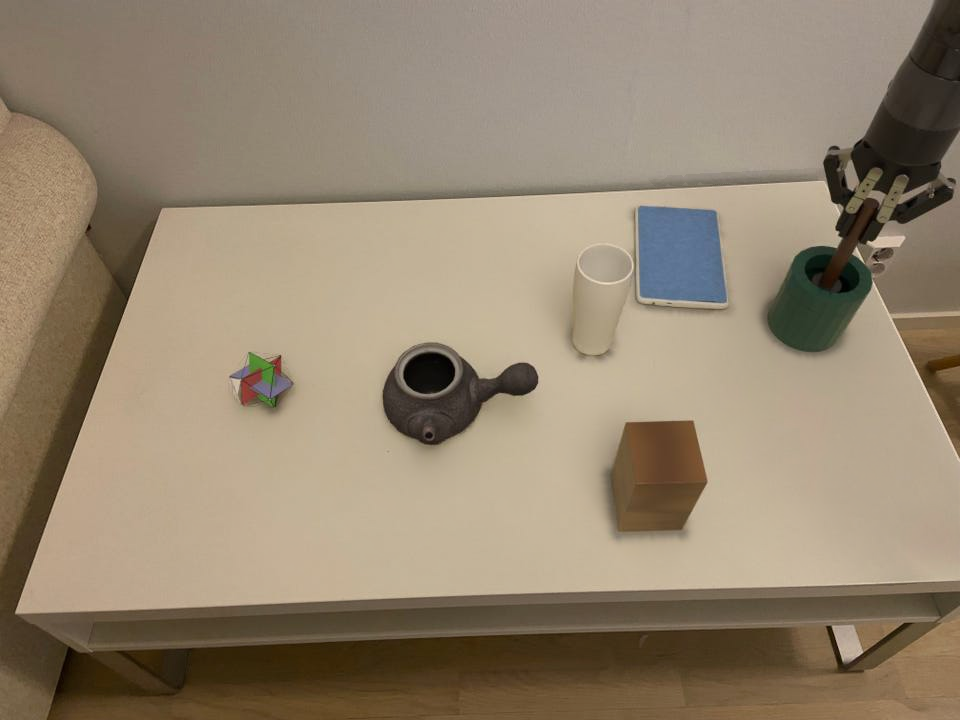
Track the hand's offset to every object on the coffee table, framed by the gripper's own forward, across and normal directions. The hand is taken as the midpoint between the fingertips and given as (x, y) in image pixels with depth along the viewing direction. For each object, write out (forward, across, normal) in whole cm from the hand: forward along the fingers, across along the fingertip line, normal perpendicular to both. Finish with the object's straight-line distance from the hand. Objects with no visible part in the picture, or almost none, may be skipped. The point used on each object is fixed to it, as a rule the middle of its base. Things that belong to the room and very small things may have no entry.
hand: (853, 235), depth 81 cm
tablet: (+16, -19, +4) cm, 26 cm away
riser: (+16, -10, -34) cm, 39 cm away
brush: (+13, 0, 0) cm, 13 cm away
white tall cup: (+16, -24, -16) cm, 33 cm away
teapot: (+16, -34, -34) cm, 51 cm away
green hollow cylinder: (+16, 0, 0) cm, 16 cm away
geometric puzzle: (+16, -57, -43) cm, 73 cm away
